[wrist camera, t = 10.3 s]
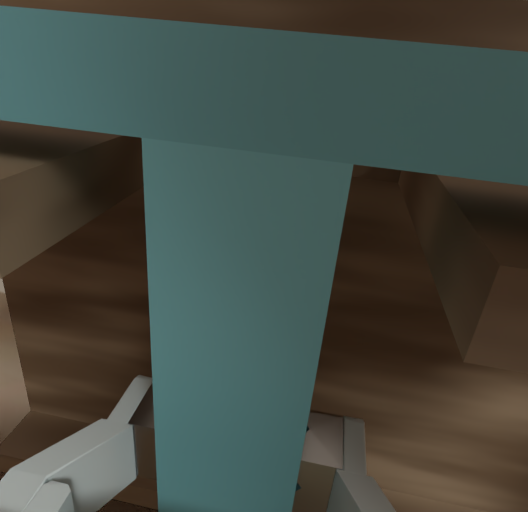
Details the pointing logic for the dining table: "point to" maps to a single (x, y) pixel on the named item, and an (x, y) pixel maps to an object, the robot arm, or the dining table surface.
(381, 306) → the wall shelf
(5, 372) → the dining table surface
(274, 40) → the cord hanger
